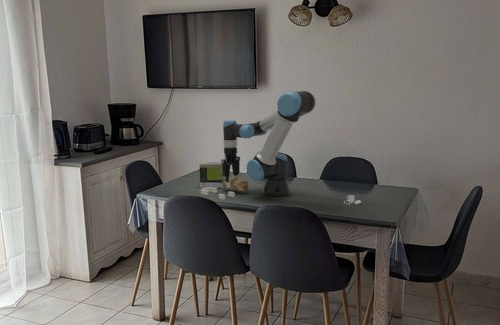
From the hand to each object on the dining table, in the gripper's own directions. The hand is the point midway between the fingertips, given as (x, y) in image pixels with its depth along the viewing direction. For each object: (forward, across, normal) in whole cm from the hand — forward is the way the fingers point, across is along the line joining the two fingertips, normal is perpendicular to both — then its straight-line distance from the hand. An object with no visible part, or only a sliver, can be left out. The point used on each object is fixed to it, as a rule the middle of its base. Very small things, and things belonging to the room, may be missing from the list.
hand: (231, 186), depth 287 cm
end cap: (+3, +12, -7) cm, 14 cm away
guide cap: (+3, +12, +8) cm, 15 cm away
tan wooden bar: (+1, 0, +3) cm, 3 cm away
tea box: (+3, -1, -17) cm, 17 cm away
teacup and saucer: (+5, -24, +66) cm, 71 cm away
